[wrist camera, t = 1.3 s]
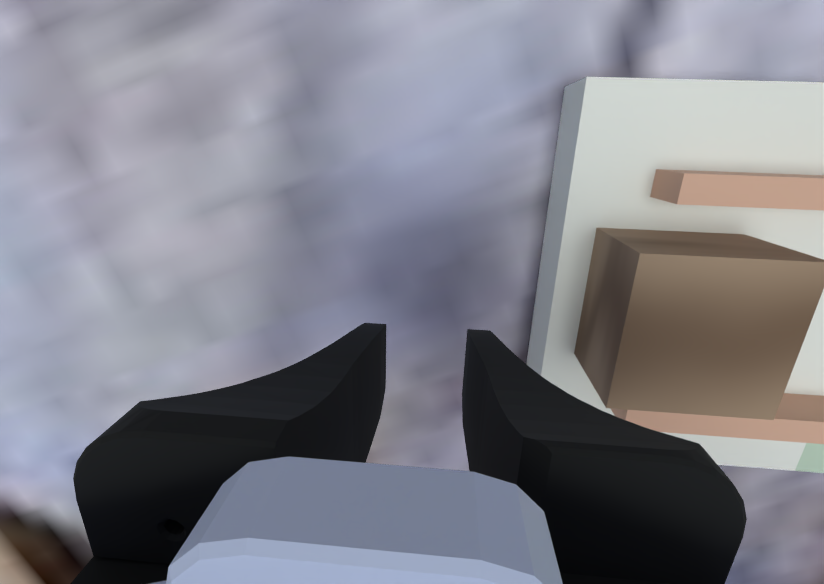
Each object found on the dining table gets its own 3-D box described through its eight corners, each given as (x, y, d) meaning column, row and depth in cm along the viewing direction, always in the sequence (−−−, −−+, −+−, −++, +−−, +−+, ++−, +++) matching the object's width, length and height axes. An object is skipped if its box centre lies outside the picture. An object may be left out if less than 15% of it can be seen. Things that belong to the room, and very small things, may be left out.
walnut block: (706, 361, 18) (773, 420, 14) (573, 353, 18) (605, 408, 15) (744, 234, 16) (833, 262, 12) (596, 227, 17) (640, 253, 13)
